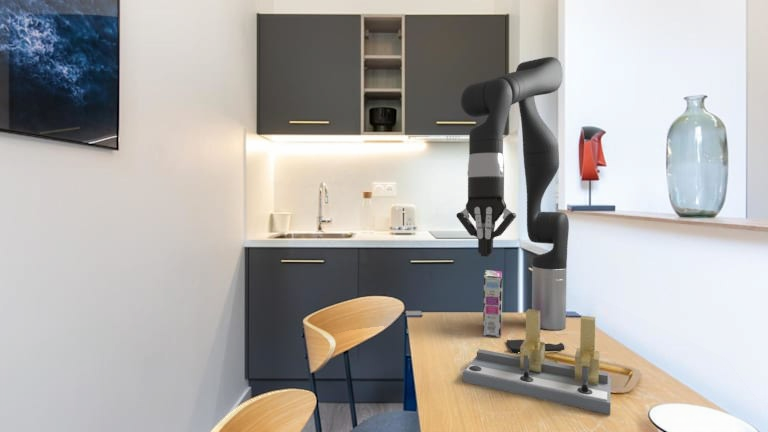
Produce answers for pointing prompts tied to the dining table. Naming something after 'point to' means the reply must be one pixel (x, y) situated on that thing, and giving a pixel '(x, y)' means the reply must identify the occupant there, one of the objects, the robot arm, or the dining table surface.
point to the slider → (532, 344)
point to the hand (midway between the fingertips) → (485, 255)
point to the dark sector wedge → (516, 344)
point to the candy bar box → (492, 303)
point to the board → (538, 381)
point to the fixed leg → (587, 355)
